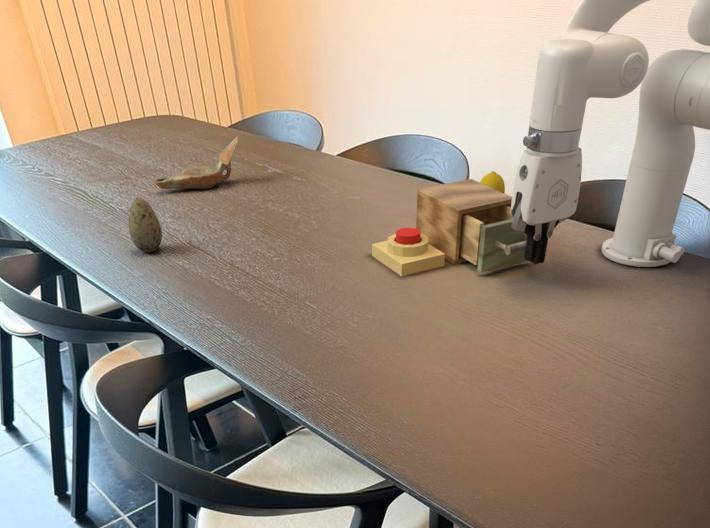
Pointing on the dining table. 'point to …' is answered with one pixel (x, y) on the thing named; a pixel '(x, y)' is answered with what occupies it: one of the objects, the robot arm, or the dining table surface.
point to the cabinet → (453, 212)
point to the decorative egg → (144, 226)
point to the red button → (408, 236)
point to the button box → (408, 256)
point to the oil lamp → (201, 173)
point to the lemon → (494, 181)
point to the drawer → (491, 239)
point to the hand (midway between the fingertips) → (533, 260)
